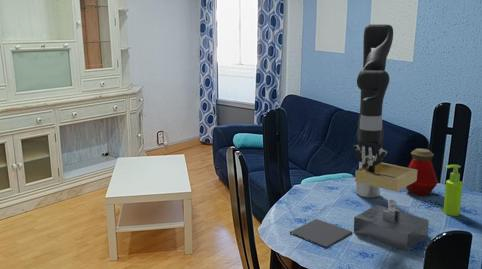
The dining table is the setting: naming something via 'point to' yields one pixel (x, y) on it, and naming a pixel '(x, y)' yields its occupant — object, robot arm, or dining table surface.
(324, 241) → the black mat
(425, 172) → the bottle
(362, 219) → the translucent grey knobbed box
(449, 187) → the soap dispenser
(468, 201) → the dining table surface
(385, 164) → the wooden tray
